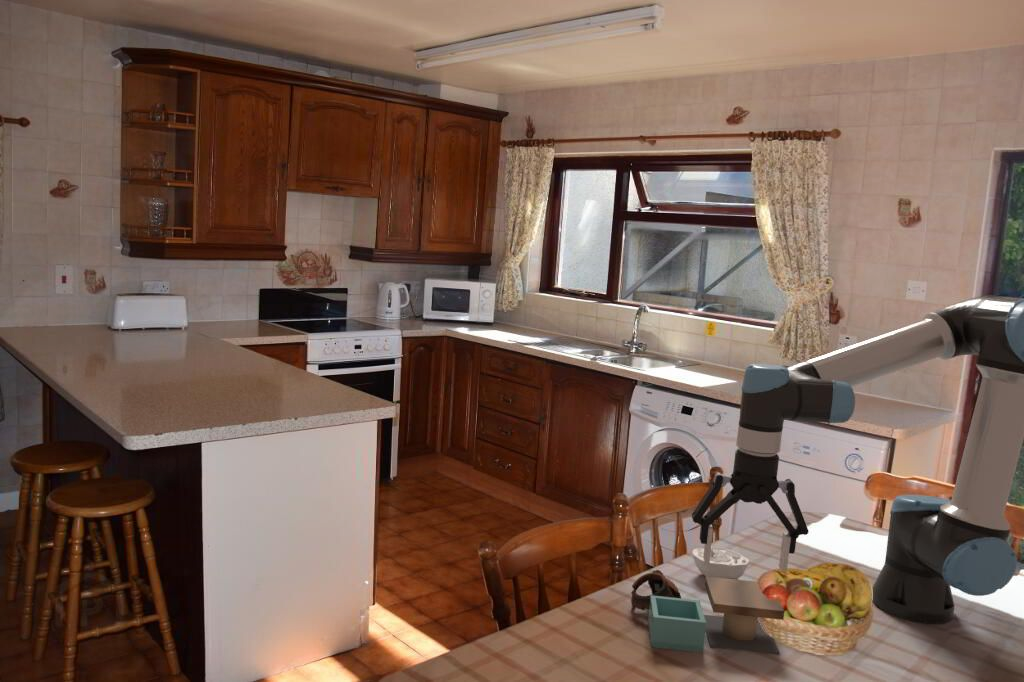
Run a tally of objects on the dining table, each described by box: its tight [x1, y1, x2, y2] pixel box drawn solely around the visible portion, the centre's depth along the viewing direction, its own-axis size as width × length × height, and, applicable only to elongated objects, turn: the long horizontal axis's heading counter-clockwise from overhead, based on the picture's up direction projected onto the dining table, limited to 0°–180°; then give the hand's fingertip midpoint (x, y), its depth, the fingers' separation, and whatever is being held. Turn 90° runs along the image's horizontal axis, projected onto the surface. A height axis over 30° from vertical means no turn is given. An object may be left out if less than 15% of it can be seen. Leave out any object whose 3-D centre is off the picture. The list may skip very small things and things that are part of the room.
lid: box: [704, 575, 785, 621], centre depth 148 cm, size 12×12×2 cm
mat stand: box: [704, 613, 781, 655], centre depth 148 cm, size 12×12×6 cm
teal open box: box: [647, 594, 706, 654], centre depth 146 cm, size 9×9×6 cm
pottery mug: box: [630, 569, 682, 611], centre depth 157 cm, size 12×10×8 cm
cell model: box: [691, 545, 751, 580], centre depth 174 cm, size 10×12×7 cm
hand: (744, 565), depth 147 cm, fingers open, 13 cm apart
